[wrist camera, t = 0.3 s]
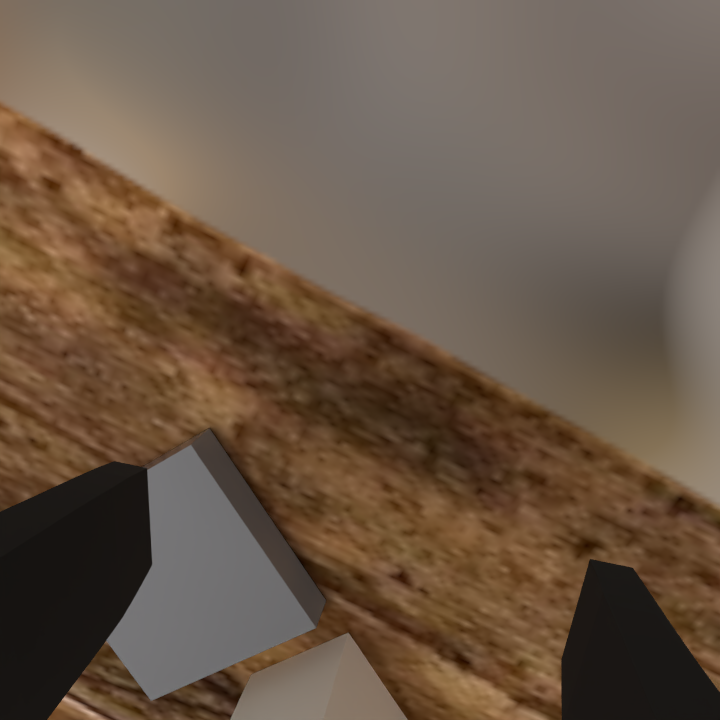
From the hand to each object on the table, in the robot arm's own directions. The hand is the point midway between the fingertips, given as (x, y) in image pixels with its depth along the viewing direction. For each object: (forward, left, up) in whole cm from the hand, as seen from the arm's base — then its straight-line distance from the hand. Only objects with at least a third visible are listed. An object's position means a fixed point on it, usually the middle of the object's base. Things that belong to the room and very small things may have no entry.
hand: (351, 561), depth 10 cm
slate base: (-11, -2, -11) cm, 15 cm away
